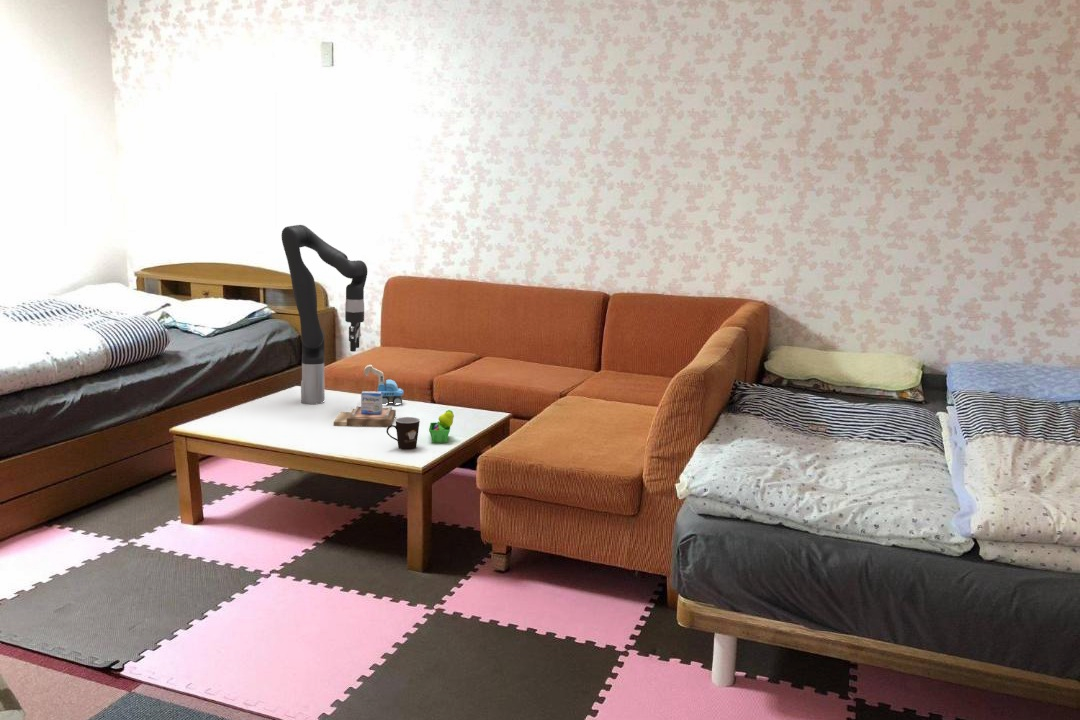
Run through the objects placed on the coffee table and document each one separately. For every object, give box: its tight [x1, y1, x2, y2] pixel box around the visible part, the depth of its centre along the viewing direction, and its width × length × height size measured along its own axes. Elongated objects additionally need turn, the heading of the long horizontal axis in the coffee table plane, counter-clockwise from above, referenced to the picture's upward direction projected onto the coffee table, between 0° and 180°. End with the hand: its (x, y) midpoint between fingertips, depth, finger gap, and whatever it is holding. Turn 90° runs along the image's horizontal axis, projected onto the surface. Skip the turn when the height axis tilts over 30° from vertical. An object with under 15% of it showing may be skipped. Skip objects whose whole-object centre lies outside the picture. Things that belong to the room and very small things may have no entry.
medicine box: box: [360, 390, 383, 415], centre depth 334 cm, size 8×4×9 cm, turn 93°
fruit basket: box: [428, 409, 455, 444], centre depth 312 cm, size 11×9×11 cm
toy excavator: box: [363, 364, 405, 405], centre depth 363 cm, size 9×17×17 cm, turn 100°
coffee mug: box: [386, 416, 420, 451], centre depth 301 cm, size 12×9×10 cm
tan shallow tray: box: [333, 405, 397, 428], centre depth 335 cm, size 22×16×4 cm
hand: (354, 349), depth 345 cm, fingers open, 8 cm apart
